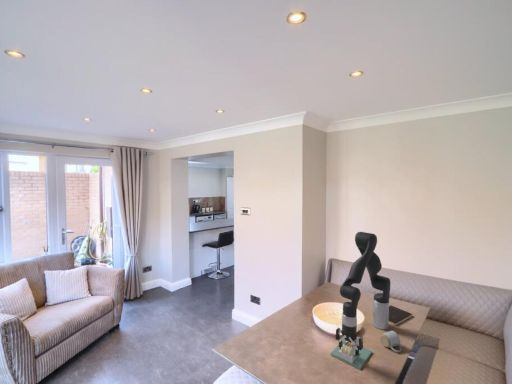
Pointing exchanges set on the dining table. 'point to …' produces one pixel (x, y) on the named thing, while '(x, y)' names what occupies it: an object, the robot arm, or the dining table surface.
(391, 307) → the hardcover book
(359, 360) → the header board
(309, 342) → the dining table surface
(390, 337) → the ceramic mug
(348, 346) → the plug block
